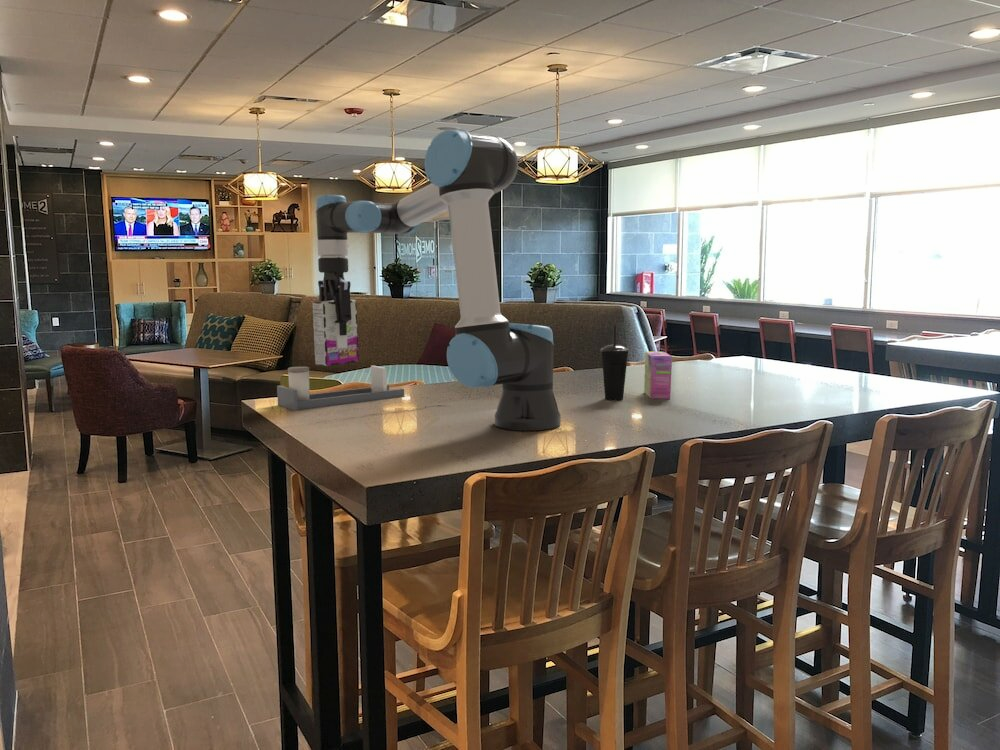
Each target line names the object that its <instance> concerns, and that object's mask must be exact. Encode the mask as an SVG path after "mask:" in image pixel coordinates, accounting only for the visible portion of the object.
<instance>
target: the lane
mask: <svg viewBox="0 0 1000 750" xmlns="http://www.w3.org/2000/svg"><path fill="white" fill-rule="evenodd" d="M276 393H277V394H276V395H277V406H279V407H282V408H284V409H287V410H290V411H294V412H295V411H296V412H297V411H303V410H310V409H311V410H312V409H321V408H327V407H328V408H329V407H337V406H343V405H350V404H356V403H357V404H360V403H367V402H376V401H383V400H390V399H391V400H392V399H399V398H405V397H406V396H405V389H404V388H398V389H397V388H396V389H390V385H389V384H388V385H387V391H379V392H372V391H371V386H370V387H360V388H354V389H353V388H352V389H344V390H335V391H325V392H317V393H310V400H304V401H297V390H294V389H291V388H289V386H288V387H286V386H284V385H277V386H276Z"/></svg>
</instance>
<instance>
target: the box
mask: <svg viewBox="0 0 1000 750" xmlns="http://www.w3.org/2000/svg"><path fill="white" fill-rule="evenodd" d="M672 366H673V356H672V355H671V354H669V353H667V352H666V351H645V353H644V381H643V382H644V385H643V386H644V388H643V392H644V394H646V395H647V396H648V397H649V399H650V400H651V399H652V400H668V399H669V400H670V399H671V392H672V390H671V389H672V370H673V369H672Z"/></svg>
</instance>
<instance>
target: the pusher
mask: <svg viewBox="0 0 1000 750" xmlns="http://www.w3.org/2000/svg"><path fill="white" fill-rule="evenodd" d="M370 382H371V385H370V387H371V391H372V392H379V391H387V382H388V381H387V368H386V367H383V366H377V365H370Z"/></svg>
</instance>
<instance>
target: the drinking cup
mask: <svg viewBox="0 0 1000 750" xmlns="http://www.w3.org/2000/svg"><path fill="white" fill-rule="evenodd" d="M600 352H601V362H602V374H603V375H602V377H603V387H604V388H603V389H604V399H605V400H607V401H622V400H624V392H625V384H626V375H627V365H628V355H629V352H630V349H629V348H627V347H626V346H624V345H621V344H617V325H616V324H614V325H613V343H612V344H608V345H605V346H604V347H601V348H600Z"/></svg>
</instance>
